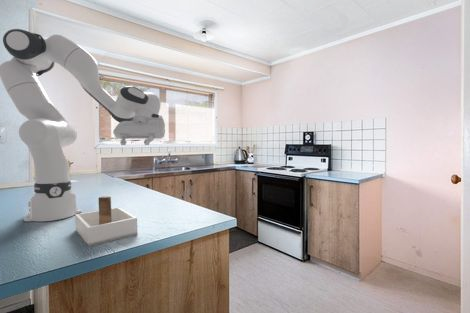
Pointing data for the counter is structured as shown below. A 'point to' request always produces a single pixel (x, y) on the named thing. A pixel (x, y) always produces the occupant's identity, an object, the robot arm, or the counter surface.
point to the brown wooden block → (104, 210)
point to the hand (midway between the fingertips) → (134, 144)
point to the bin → (105, 226)
